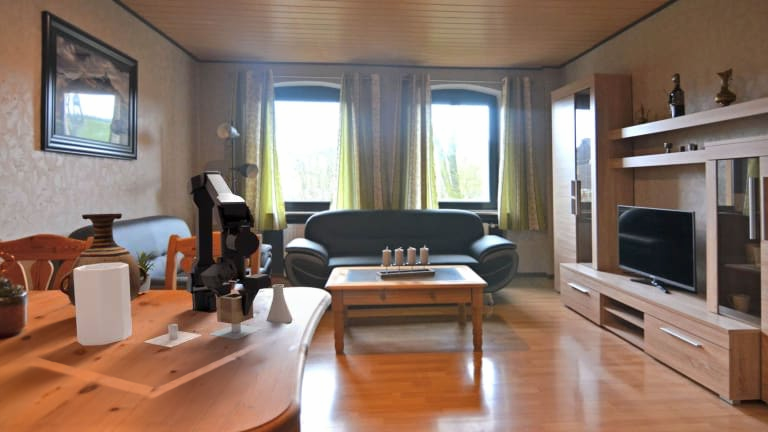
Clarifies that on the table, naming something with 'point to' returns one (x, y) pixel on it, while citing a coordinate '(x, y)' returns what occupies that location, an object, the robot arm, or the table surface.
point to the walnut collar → (231, 309)
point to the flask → (279, 306)
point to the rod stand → (173, 337)
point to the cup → (102, 303)
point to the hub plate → (236, 335)
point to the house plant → (143, 264)
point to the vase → (105, 255)
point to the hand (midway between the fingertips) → (235, 314)
